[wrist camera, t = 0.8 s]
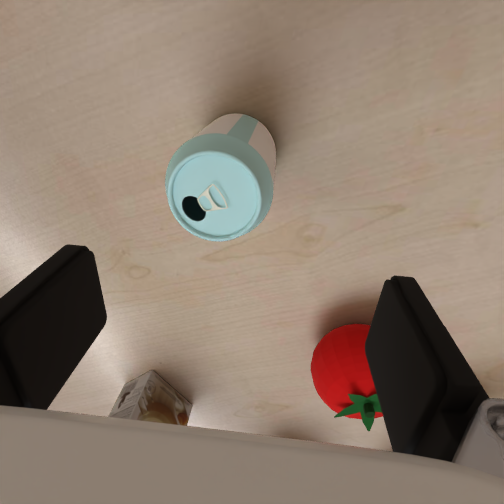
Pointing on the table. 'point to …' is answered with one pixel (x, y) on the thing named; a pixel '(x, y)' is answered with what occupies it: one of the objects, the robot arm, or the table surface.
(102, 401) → the table surface
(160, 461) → the robot arm
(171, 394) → the coffee box
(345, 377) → the tomato
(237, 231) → the can
